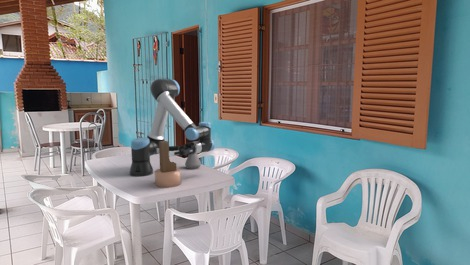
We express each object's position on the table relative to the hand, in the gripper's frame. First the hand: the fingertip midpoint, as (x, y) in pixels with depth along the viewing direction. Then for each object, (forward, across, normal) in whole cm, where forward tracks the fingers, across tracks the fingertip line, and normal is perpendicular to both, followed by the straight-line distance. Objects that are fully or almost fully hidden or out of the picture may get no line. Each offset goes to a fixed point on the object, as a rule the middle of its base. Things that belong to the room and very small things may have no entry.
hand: (162, 152), depth 199 cm
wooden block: (-3, -1, -12) cm, 12 cm away
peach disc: (-3, 0, -20) cm, 20 cm away
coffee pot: (-38, +28, -20) cm, 51 cm away
